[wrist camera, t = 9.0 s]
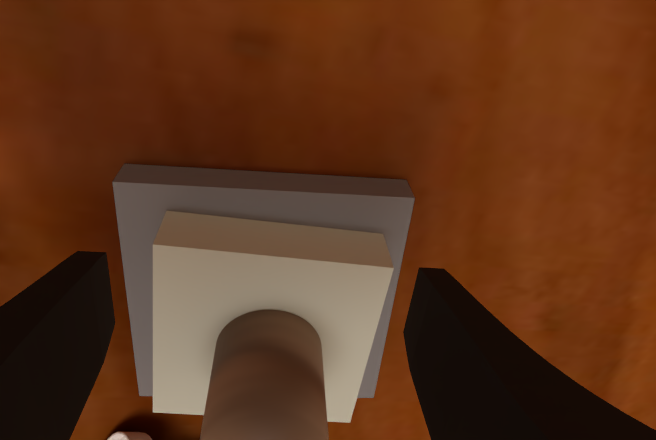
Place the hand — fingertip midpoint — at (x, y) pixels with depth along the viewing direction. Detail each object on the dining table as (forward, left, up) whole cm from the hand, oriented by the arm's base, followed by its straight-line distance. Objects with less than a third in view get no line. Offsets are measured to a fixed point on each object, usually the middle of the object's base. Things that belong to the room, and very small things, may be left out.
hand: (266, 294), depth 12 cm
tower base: (0, -8, -11) cm, 14 cm away
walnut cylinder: (0, -8, -6) cm, 10 cm away
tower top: (0, -8, -9) cm, 12 cm away
